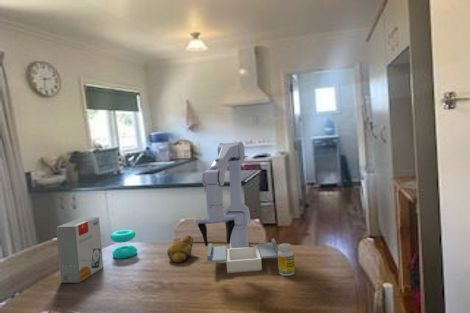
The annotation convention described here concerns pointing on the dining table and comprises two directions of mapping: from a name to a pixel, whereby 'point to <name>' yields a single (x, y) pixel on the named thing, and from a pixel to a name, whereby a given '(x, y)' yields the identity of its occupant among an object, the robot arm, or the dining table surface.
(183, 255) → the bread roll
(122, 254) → the donuts
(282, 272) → the supplement bottle
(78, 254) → the hard drive box
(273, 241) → the flap
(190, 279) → the dining table surface
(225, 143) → the robot arm
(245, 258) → the carton
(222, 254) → the flap
